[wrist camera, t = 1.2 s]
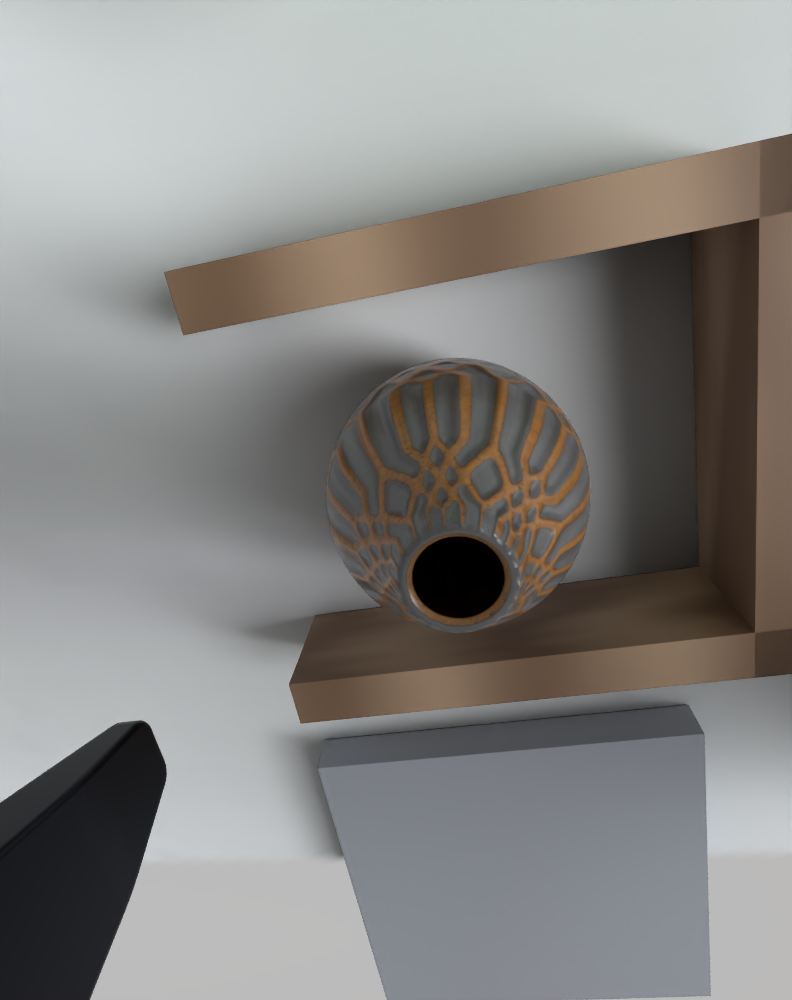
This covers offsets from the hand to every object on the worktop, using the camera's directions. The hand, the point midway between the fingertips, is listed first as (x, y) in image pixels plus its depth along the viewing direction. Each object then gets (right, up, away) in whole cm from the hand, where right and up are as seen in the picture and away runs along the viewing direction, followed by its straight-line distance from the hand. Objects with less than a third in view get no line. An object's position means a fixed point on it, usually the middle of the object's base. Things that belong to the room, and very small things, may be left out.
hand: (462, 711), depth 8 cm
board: (+4, -12, +18) cm, 22 cm away
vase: (+1, +4, +12) cm, 13 cm away
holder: (+2, +5, +11) cm, 12 cm away
